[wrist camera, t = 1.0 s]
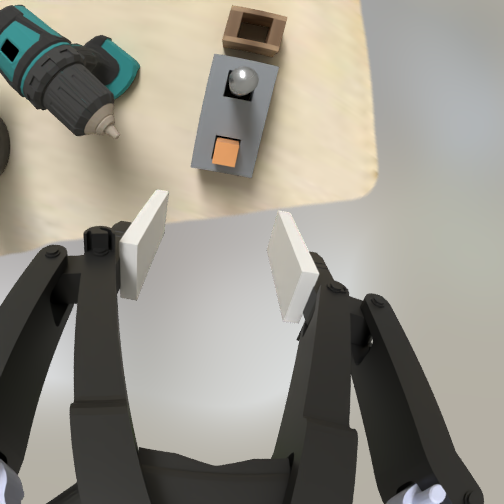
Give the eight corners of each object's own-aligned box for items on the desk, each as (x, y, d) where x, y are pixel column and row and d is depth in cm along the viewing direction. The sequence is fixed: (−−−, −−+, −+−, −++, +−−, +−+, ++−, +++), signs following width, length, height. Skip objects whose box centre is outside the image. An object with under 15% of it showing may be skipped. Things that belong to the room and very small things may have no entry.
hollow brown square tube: (223, 47, 38) (222, 40, 32) (231, 16, 35) (232, 5, 30) (272, 57, 39) (278, 51, 34) (280, 26, 36) (287, 17, 31)
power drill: (185, 99, 42) (139, 100, 20) (148, 139, 44) (80, 179, 23) (85, 19, 31) (-3, -11, 10) (55, 58, 34) (-42, 56, 12)
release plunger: (214, 152, 44) (211, 163, 37) (218, 134, 42) (216, 141, 35) (233, 156, 44) (234, 167, 37) (237, 137, 43) (239, 145, 36)
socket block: (196, 158, 47) (190, 167, 41) (216, 60, 39) (214, 53, 33) (248, 167, 48) (251, 178, 42) (272, 71, 40) (278, 66, 34)
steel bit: (227, 94, 42) (225, 90, 26) (231, 77, 40) (232, 63, 25) (246, 98, 42) (255, 96, 27) (250, 81, 41) (261, 69, 25)
